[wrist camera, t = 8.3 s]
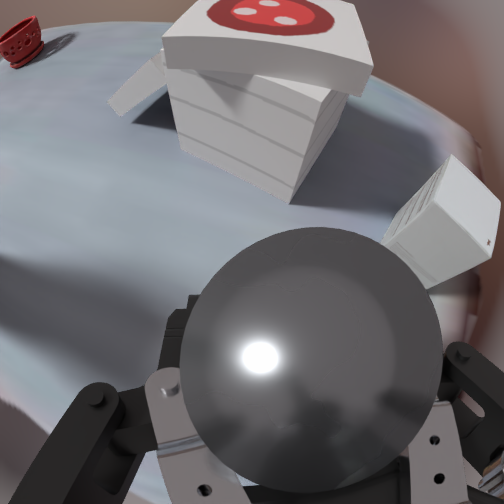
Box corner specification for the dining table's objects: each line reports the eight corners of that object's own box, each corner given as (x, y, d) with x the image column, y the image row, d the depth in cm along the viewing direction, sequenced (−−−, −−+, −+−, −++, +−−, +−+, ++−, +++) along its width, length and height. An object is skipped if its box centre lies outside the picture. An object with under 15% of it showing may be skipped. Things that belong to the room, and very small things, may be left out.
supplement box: (436, 249, 31) (503, 203, 19) (415, 296, 28) (493, 260, 17) (395, 212, 32) (452, 150, 20) (368, 255, 30) (433, 199, 18)
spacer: (233, 408, 13) (226, 519, 3) (211, 326, 15) (154, 260, 5) (316, 384, 14) (459, 422, 4) (294, 305, 15) (396, 207, 5)
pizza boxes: (185, 62, 40) (175, -28, 23) (353, 127, 36) (399, 24, 19) (103, 131, 34) (58, 30, 17) (295, 230, 30) (353, 98, 13)
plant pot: (4, 72, 44) (-10, 44, 33) (37, 44, 48) (26, 16, 37) (18, 74, 42) (2, 43, 31) (55, 44, 46) (42, 12, 35)
